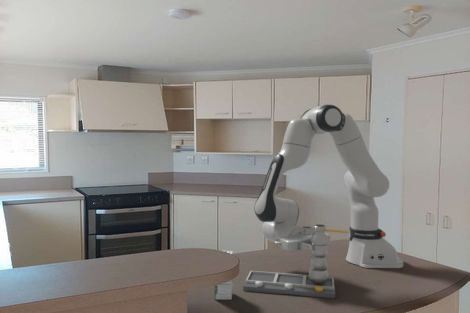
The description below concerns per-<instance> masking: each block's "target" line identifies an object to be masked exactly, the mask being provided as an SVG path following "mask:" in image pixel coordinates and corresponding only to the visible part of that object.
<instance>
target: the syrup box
mask: <svg viewBox="0 0 470 313" xmlns="http://www.w3.org/2000/svg"><path fill="white" fill-rule="evenodd" d="M222 251H223V252H227V253H230V254H233V255H234V251H232V250H222ZM233 289H234V279H233V280H231V281H229V282H226V283H223V284H221V285H218V286H215V285H214V297H213V298H214V300H217V301H218V300H219V301H220V300H224V301H226V300H232V299H233V292H234V291H233Z"/></svg>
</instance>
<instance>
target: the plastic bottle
mask: <svg viewBox="0 0 470 313" xmlns="http://www.w3.org/2000/svg"><path fill="white" fill-rule="evenodd" d="M313 229H314V231H315V233H314V234H313V235H312V237H311V239H310V244H312V245H314V246H315V250H312V251H310V254H311V255H310V258H311V260H310V267H309V271H308V272H309V273H308V275H309V279H310V280H311V282H313V283H319V284H322V283H326V282H327V280H328V277H329V271H328V270H329V269H328V254H329V252H328V251H329V248H330V247H329V238H328V236H327V235H326V234H325V233H326V231H327V230H326V225H325V224H319V223H318V224H314V227H313Z"/></svg>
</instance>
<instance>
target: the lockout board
mask: <svg viewBox="0 0 470 313" xmlns="http://www.w3.org/2000/svg"><path fill="white" fill-rule="evenodd" d="M242 291H243V292H256V293H267V294H268V293H269V294H276V295H277V294H280V295H288V294H289V295H290V296H299V295H300V297H302V296H303V297H314V298H325V299H326V298H327V299H336V288H335V279H334V276H328V280H327V282H326V283H322V284H319V283H313V282H311V280H310V279H309V274H300V273H286V272H273V271H261V270H260V271H257V270H250V271H249V273H248V275H247V277H246V279H245V281H244V283H243V288H242Z"/></svg>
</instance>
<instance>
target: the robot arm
mask: <svg viewBox="0 0 470 313" xmlns="http://www.w3.org/2000/svg"><path fill="white" fill-rule="evenodd" d="M325 133H329V135H330V136H331V137H332V139H333V143H334V144H335V147H336V149H337V153H338V155H339V157H340V159H341V162H342V163H343V165H345V167H346V168H347V169H348V170H347V171H346V172H345V174H344V175H343V183H344V186H345V188H346V190H347V196H348V200H349V206H350V226H349V228H348V238H349V244H348V249H347V254H346V257H345V261H347V262H348V263H350V264H354V265H356V266H360V267H362V268H365V269H402V268H404V261H403V259H401V258H399V257H398V254H397V250H396V248H395V246H394V245H392V244H391V243H390V242H389V241H387V240H386V239H385V237H386V236H387V235H386V232H385V231H383V230H382V229H381V228H379V209H378V206H377V204H376V201H375V198H381V197H382V196H385V195H386V194H387V193H388V191H389V188H390V181H389V179H388V177H387V176H386V175H385V173H383V172H382V171H381V169H380V168H379V166H378V165H377V163H376V162H375V160H374V158H373V157H372V156H371V154H370V153H369V150H368V148H367V145H366V144H365V140H364V138H363V136H362V133H361V130H360V128H359V127H358V125H357V123H356V121H355V120H354V118H353V116H351V114H349V113H343V112H342V110H341V109H340V107H338V106H336V105H333V104H324V105H319V106H315V107H312V108H310V109H308V110H306V111H304V113H303V114H302V115H301V116H300V118H299V117H298V118H293V119H291V120H290V121H289V122H288V125H287V128H286V129H285V132H284V136H283V141H282V146H281V149H280V151H279V152H278V154H277V155H275V156H274V157H273V158H272V160H271V163H270V164H269V168H268V170H267V173H266V176H265V178H264V181H263V185H262V187H261V190H260V193H259V195H258V197H257V199H256V200H255V203H254V209H253V210H254V213H255V216H256V218H257V219H258V220H259V221H260V222H262V226H261V231H262V232H261V233H262V234H263V236H264V238H266V239H267V240H268V241H270V242H271V243H274V244H276V245H278V246H279V248H280V249H282V250H283V251H286V252H290V253H293V252H298V251H303V250H306V251H310V252H311V251H312V250H315V246H314V245H312V244H310V239H311V237H312V235H313V234H314V233H315V231H314V227H313V226H300V225H297V223H298V221H299V220H298V219H299V215H300V208H299V205H298V203H297V202H296V201H295V200H294V199H290V198H283V197H277V196H276V194H277V191H278V187H279V185H280V182H281V179H282V177H283V175H285V173H287V172H289V171H292V170H295V169H299V168H301V167H302V166H304V165H306V163H307V162H308V159H309V157H310V153H311V148H312V147H311V146H312V140H313V138H314V137H315V135H322V134H325ZM325 234H326V235H327V236H328V238H329V248H330V246H331V235H330V234H329V233H327V232H325Z"/></svg>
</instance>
